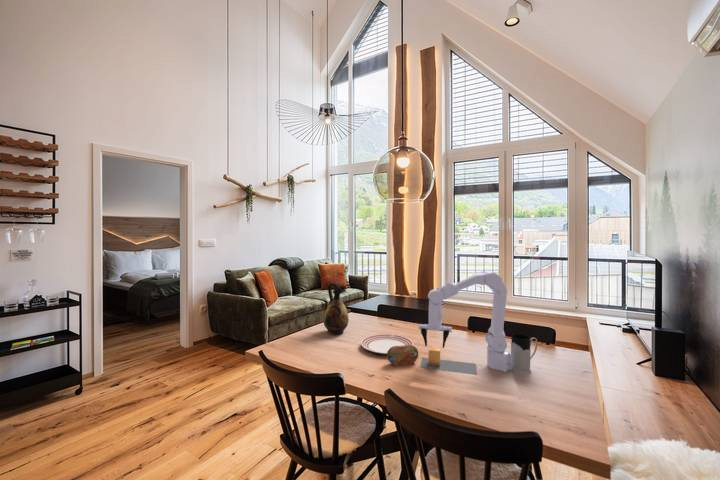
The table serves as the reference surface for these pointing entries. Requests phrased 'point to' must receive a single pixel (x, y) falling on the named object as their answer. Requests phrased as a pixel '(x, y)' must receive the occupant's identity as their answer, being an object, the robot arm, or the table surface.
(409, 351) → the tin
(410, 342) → the dinner plate
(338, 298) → the ceramic jug
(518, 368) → the grey mug
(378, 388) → the table surface
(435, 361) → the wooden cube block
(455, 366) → the mat
